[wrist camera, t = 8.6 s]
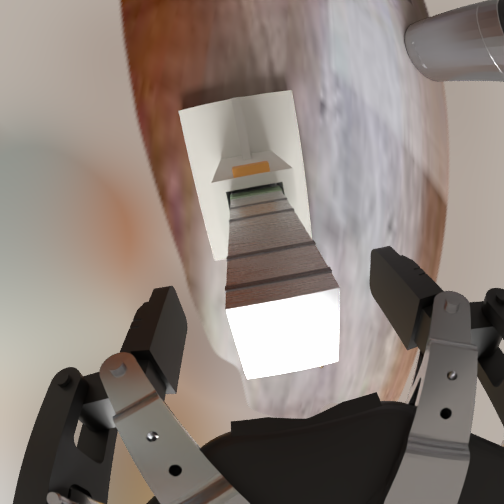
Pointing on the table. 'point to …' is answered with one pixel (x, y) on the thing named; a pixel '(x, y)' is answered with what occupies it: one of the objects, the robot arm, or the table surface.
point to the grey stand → (244, 156)
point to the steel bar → (278, 287)
